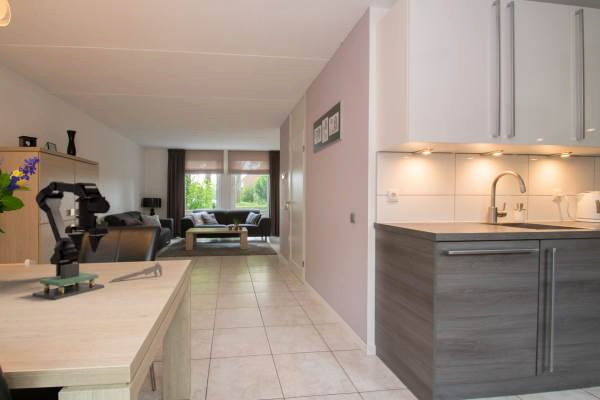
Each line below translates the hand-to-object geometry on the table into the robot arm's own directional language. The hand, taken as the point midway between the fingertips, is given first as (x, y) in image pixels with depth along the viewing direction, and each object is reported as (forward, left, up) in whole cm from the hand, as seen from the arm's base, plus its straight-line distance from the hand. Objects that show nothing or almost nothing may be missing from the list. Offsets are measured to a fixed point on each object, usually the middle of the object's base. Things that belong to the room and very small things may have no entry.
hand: (86, 251), depth 144 cm
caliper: (+16, +11, -12) cm, 23 cm away
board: (+11, -14, -8) cm, 19 cm away
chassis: (+11, -14, -12) cm, 21 cm away
